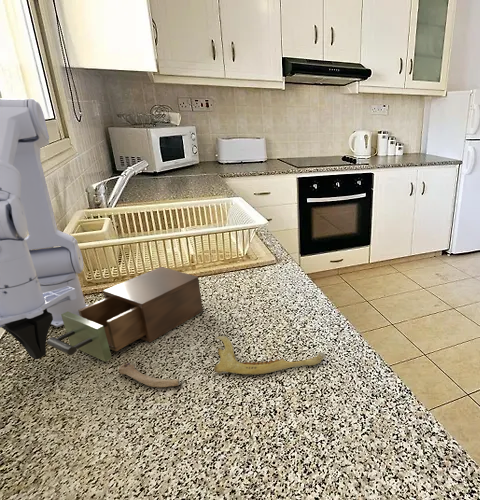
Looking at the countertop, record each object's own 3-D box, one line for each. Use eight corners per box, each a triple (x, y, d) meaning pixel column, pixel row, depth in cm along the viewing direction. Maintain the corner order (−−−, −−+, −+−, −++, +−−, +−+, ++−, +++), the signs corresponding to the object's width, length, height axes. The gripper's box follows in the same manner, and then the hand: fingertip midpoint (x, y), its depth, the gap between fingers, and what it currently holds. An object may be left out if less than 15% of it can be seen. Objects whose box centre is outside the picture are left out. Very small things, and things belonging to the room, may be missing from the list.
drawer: (81, 376, 62) (71, 341, 60) (45, 357, 66) (34, 325, 64) (165, 327, 76) (160, 297, 74) (131, 314, 80) (125, 286, 78)
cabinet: (149, 342, 73) (141, 304, 70) (111, 327, 77) (102, 290, 74) (203, 311, 84) (198, 276, 81) (167, 299, 89) (161, 266, 86)
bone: (171, 394, 60) (169, 383, 59) (117, 377, 63) (114, 367, 63) (182, 383, 62) (181, 373, 62) (129, 368, 66) (127, 358, 65)
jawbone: (195, 374, 65) (193, 367, 65) (219, 341, 73) (218, 335, 72) (312, 394, 62) (312, 387, 61) (325, 358, 69) (325, 351, 69)
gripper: (-39, 308, 48) (-5, 392, 53) (79, 268, 60) (98, 339, 65) (-64, 296, 51) (-29, 376, 56) (54, 260, 63) (74, 328, 68)
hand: (38, 355), depth 61 cm, fingers closed
